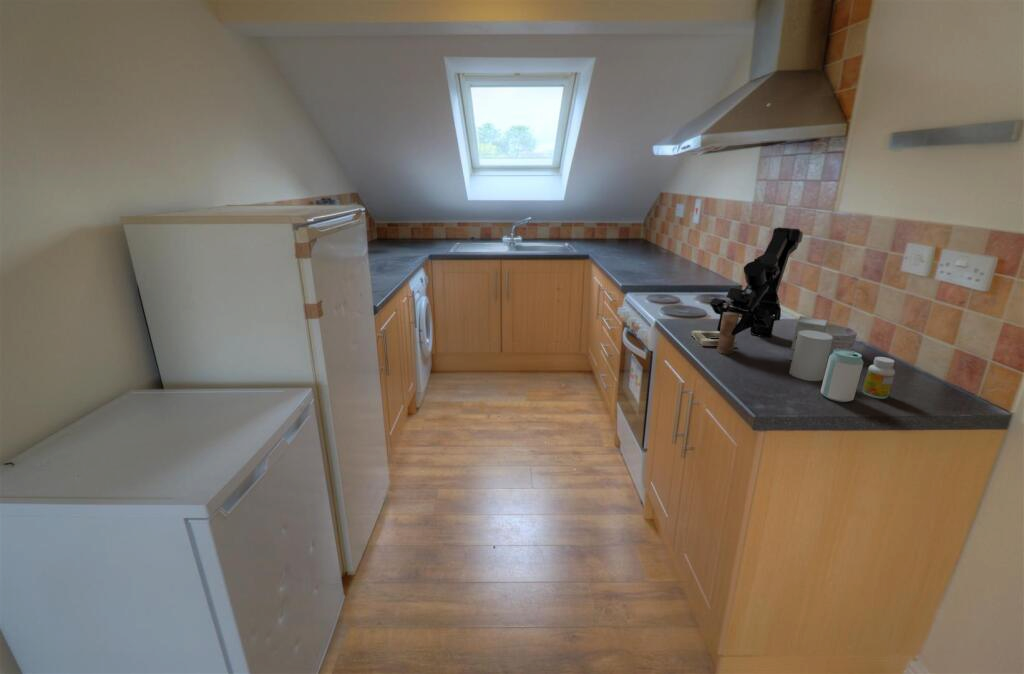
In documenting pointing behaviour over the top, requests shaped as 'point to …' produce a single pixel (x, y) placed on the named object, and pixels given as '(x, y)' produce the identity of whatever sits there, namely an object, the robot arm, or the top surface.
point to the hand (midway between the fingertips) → (725, 332)
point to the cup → (810, 355)
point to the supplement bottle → (879, 378)
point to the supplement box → (807, 324)
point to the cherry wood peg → (727, 332)
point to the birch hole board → (702, 339)
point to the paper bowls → (840, 337)
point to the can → (842, 375)
